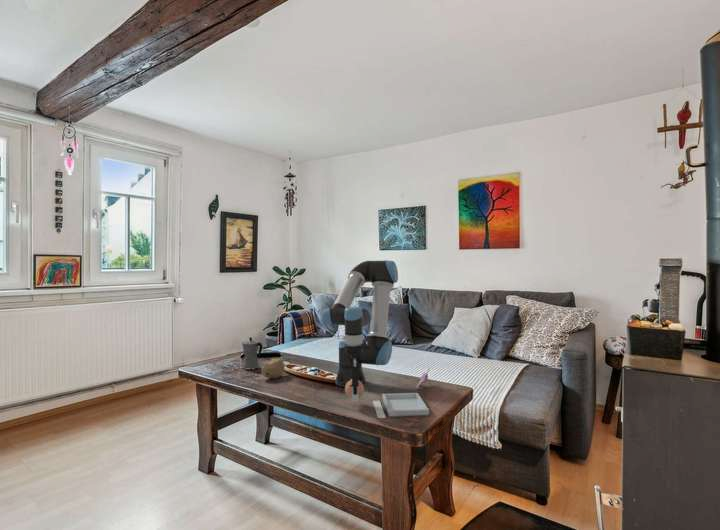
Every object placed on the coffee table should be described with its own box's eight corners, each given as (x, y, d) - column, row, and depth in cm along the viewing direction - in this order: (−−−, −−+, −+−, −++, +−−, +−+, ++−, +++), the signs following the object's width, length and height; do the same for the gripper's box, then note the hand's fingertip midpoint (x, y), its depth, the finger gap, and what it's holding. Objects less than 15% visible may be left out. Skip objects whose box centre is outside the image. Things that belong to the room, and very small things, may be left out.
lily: (425, 384, 190) (416, 368, 190) (444, 379, 183) (434, 362, 183) (416, 398, 180) (406, 381, 180) (435, 393, 173) (425, 375, 173)
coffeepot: (236, 368, 217) (236, 337, 217) (248, 364, 226) (248, 335, 226) (256, 372, 210) (256, 340, 210) (267, 368, 219) (267, 337, 219)
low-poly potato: (282, 373, 209) (263, 364, 208) (290, 358, 206) (271, 348, 205) (275, 389, 194) (255, 379, 193) (284, 373, 191) (263, 363, 190)
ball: (344, 395, 161) (344, 376, 161) (363, 394, 162) (363, 376, 162) (345, 402, 153) (345, 382, 153) (364, 401, 154) (364, 382, 154)
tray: (382, 398, 166) (382, 393, 166) (417, 397, 167) (417, 392, 167) (389, 416, 146) (388, 411, 146) (429, 415, 147) (429, 409, 147)
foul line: (372, 401, 163) (372, 400, 163) (379, 401, 163) (379, 400, 163) (377, 418, 145) (377, 417, 145) (385, 418, 145) (385, 417, 145)
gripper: (344, 339, 167) (344, 389, 168) (345, 350, 147) (346, 407, 147) (360, 338, 168) (361, 388, 168) (364, 349, 147) (365, 406, 148)
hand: (354, 397), depth 158 cm, fingers closed on ball, 8 cm apart
